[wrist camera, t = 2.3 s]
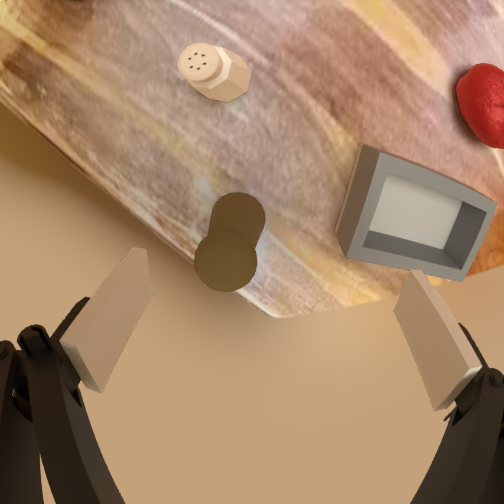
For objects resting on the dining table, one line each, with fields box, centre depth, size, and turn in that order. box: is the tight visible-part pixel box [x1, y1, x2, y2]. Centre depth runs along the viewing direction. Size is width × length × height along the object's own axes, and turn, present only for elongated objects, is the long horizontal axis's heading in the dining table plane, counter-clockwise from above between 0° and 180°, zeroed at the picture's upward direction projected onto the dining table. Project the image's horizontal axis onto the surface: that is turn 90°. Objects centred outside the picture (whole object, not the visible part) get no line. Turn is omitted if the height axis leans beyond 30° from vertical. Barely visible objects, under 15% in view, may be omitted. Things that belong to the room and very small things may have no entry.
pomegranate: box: [456, 63, 504, 149], centre depth 17 cm, size 10×10×9 cm
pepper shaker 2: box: [194, 192, 265, 292], centre depth 27 cm, size 6×6×11 cm
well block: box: [334, 143, 497, 282], centre depth 26 cm, size 10×16×6 cm, turn 80°
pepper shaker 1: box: [177, 43, 252, 102], centre depth 19 cm, size 5×5×11 cm
